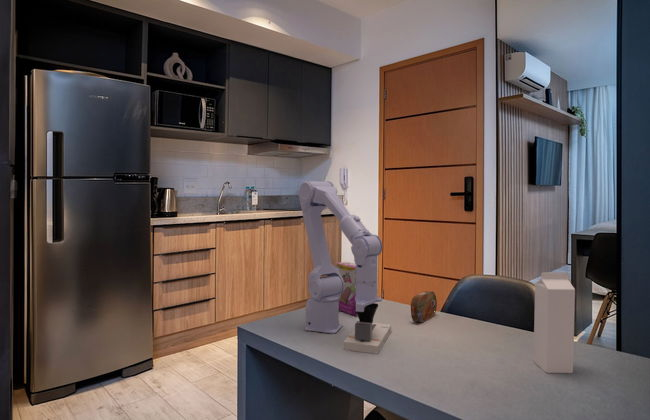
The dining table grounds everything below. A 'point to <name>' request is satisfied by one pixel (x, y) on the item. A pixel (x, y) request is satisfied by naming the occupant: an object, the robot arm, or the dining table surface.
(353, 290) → the candy bar box
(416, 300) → the tin
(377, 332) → the console
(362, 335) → the block
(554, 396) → the dining table surface
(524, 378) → the dining table surface
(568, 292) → the milk
